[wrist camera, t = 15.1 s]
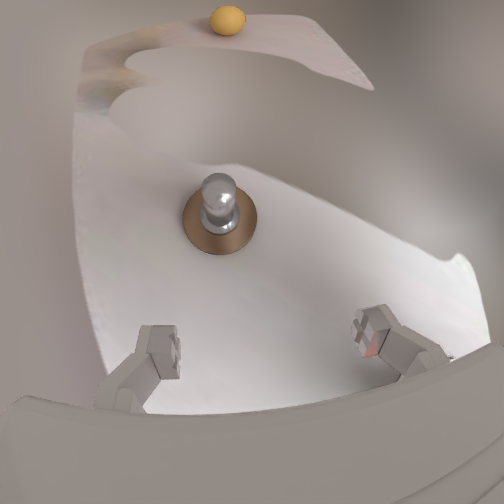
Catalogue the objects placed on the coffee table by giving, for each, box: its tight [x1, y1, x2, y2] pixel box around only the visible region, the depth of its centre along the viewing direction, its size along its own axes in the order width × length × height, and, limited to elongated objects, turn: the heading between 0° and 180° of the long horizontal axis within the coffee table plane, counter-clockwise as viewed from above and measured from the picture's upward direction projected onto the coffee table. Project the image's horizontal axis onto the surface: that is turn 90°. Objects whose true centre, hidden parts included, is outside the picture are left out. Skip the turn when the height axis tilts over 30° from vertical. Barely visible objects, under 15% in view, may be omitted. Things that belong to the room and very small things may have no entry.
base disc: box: [183, 187, 257, 255], centre depth 45 cm, size 12×12×2 cm
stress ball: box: [210, 5, 246, 36], centre depth 56 cm, size 10×10×10 cm
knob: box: [200, 173, 240, 235], centre depth 40 cm, size 6×6×10 cm
